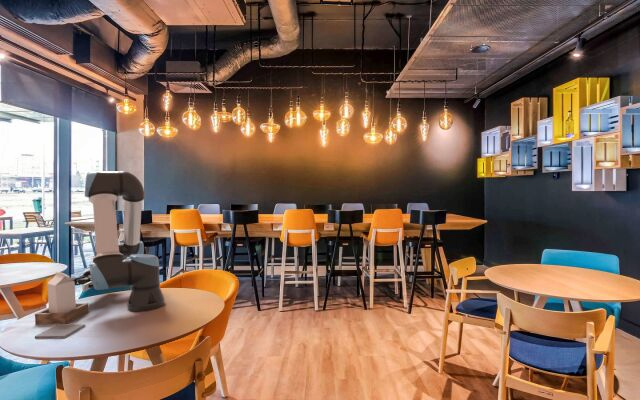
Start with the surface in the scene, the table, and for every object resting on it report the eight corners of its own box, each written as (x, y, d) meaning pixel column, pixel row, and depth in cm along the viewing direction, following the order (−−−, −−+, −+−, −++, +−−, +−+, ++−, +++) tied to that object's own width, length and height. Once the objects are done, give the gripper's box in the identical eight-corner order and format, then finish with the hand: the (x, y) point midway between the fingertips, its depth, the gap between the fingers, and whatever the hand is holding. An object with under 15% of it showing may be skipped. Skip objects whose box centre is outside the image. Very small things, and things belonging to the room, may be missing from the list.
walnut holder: (88, 312, 160) (88, 303, 160) (67, 323, 147) (67, 313, 147) (59, 312, 160) (58, 303, 160) (35, 324, 147) (34, 314, 147)
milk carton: (57, 322, 148) (54, 275, 148) (49, 319, 152) (46, 273, 151) (76, 316, 154) (74, 271, 154) (68, 314, 158) (65, 270, 157)
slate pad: (85, 326, 144) (84, 324, 144) (65, 338, 133) (64, 335, 133) (57, 326, 144) (57, 324, 144) (34, 338, 133) (34, 336, 133)
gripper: (121, 283, 179) (97, 296, 158) (67, 285, 178) (36, 298, 157) (120, 268, 179) (96, 279, 158) (66, 269, 177) (35, 281, 156)
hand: (66, 289), depth 157 cm, fingers open, 13 cm apart
